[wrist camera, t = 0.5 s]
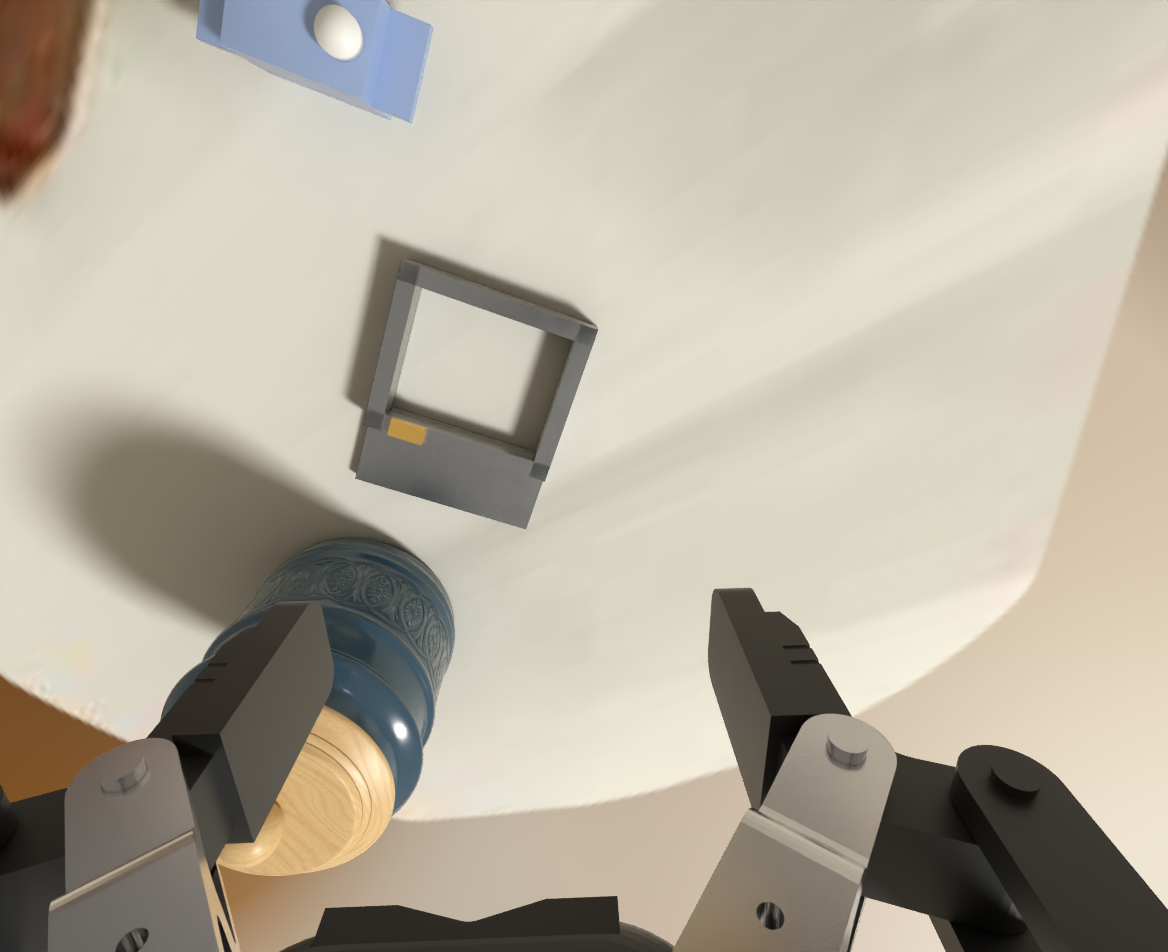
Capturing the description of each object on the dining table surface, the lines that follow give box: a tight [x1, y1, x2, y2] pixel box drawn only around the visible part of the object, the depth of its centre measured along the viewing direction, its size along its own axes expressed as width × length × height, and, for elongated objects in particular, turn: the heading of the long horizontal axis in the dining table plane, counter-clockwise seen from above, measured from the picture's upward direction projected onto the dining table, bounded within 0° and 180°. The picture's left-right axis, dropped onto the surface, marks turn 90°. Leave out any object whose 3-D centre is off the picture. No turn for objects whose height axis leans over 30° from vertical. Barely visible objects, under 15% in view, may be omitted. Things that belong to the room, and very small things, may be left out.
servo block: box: [196, 0, 433, 123], centre depth 28 cm, size 4×10×6 cm, turn 71°
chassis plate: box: [355, 259, 598, 529], centre depth 36 cm, size 14×11×2 cm
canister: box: [160, 538, 455, 876], centre depth 34 cm, size 13×13×18 cm
